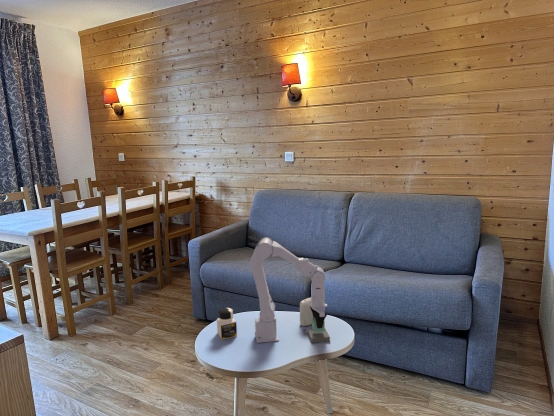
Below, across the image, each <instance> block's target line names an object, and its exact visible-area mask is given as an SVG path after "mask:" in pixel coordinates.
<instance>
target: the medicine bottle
mask: <svg viewBox="0 0 554 416" xmlns="http://www.w3.org/2000/svg"><path fill="white" fill-rule="evenodd" d="M218 314H219V315H218V316H219V317H218V318H216V331H217V334H218V336H219V337H220V339H221V340H222V341H223V340H228V339H231V338H235V337H237V336H238V331H237V329H238V328H237V321H236V319H235V318H234V310H233V308H230V307H223V308H220V310H218Z"/></svg>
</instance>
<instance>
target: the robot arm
mask: <svg viewBox="0 0 554 416" xmlns="http://www.w3.org/2000/svg"><path fill="white" fill-rule="evenodd" d="M271 255H272V256H271ZM270 256H271V257H272V258H273V257H280V258H283V260H286V261H288V262H289V263H291V264H292V265H294V267H295V270H296V271H298V272H299V273H301V274H302V275H304V276H306V277H308V278H310V280H311V286H310V291H311V293H310V294H311V296H310V298H311V306H310V309H311V311H312V314H313V318H314V317H315V319H316V325H317V328H322V327H323V323H324V321H325V319H326V318H327V316H328V314H327V312H325V311H326V310H325V309H326V308H327V307H328V304H327V303H326V301H325V300H326V298H325V294H326V293H325V290H326V288H325V281H326V277H325V276H326V275H325V271H324V269H323V268H322V267H321V266H319V265H317V264H313V263H312V262H310V261H309V258H307V257H306V258H305V257H298V256H296V255H295V254H293V253H292V252H291V251H289V250H288V249H287V248H285V247H283V246H282V245H281V244H280V243H278V242H277V241H275V240H272V238H269V237H263V238H261V239H260V240H259V241H258V242H257V244H256V246H255V248H254V250H253V253H252V256H251V258H250V261H249V262H250V266H251V270H252V275H253V279H254V283H255V289H256V292H257V296H258V301H259V302H258V303H259V310H260V311H259V318H255V319H254V330H255V331H254V336H255V341H256V343H257V344H260V343H271V342H279V336H278V333H277V315H275V311H276V304H275V302H274V301H273V299H272V296H271V294H270V291H269V286H268V283H267V282H268V281H267V276H266V273H265V269H264V264H263V263H264V261H265V260H266V259H267V258H269V257H270Z"/></svg>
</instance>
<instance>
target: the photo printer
mask: <svg viewBox="0 0 554 416" xmlns="http://www.w3.org/2000/svg"><path fill="white" fill-rule="evenodd" d="M310 306H311V297H308V298H305V299H303V300H301V301H300V302H299V323H300V326H302V327H307V326H310V325H311V326H312V318H313V314H312V311H311V309H310Z"/></svg>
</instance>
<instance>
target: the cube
mask: <svg viewBox="0 0 554 416" xmlns="http://www.w3.org/2000/svg"><path fill="white" fill-rule="evenodd" d="M325 322H326V321H325V320H324V323H323V327H322V328H317V325H316V319H315V317H314V318H312V324H311V328H312V329H313V330H314V332H322V331H325V329H326V328H325V327H326V326H325Z"/></svg>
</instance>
